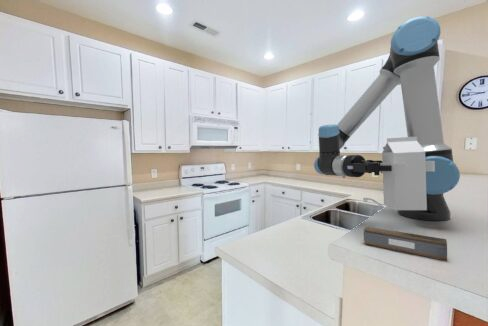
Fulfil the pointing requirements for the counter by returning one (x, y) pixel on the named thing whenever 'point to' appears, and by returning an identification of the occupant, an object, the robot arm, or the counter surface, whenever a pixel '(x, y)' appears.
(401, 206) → the milk carton
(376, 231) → the price rail
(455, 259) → the counter surface
